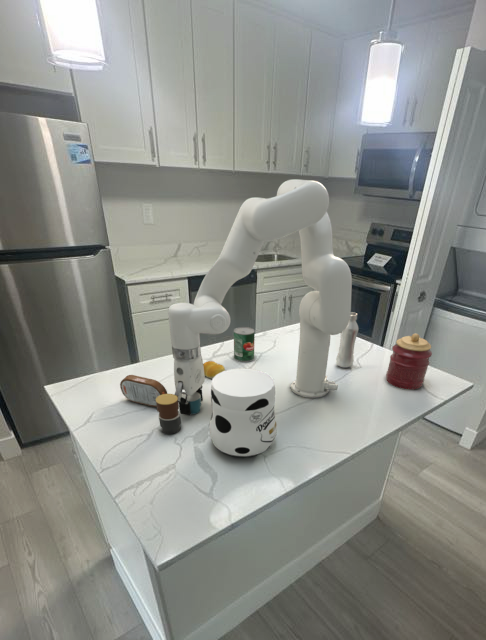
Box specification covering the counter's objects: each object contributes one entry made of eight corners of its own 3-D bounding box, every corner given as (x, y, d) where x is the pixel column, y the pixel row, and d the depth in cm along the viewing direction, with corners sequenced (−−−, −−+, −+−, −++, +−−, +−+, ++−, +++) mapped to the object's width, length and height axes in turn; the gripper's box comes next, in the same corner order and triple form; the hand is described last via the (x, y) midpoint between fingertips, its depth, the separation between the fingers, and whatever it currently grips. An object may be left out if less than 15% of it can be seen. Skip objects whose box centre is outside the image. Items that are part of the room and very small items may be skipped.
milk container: (284, 457, 94) (289, 394, 84) (216, 468, 90) (212, 403, 80) (266, 421, 108) (268, 363, 98) (206, 428, 104) (201, 369, 94)
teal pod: (204, 407, 113) (203, 393, 111) (196, 416, 109) (195, 402, 106) (187, 404, 114) (186, 390, 112) (179, 413, 110) (177, 398, 107)
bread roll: (213, 381, 128) (213, 370, 125) (196, 373, 132) (195, 363, 130) (230, 373, 133) (230, 363, 131) (213, 366, 137) (212, 356, 135)
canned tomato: (236, 353, 149) (236, 326, 143) (255, 354, 148) (256, 327, 142) (231, 361, 142) (231, 333, 136) (252, 363, 141) (252, 334, 135)
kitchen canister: (409, 394, 125) (423, 344, 116) (377, 380, 133) (388, 332, 124) (429, 383, 133) (444, 335, 123) (398, 370, 141) (409, 324, 131)
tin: (169, 405, 113) (166, 380, 108) (164, 410, 111) (160, 385, 106) (127, 396, 117) (122, 371, 112) (121, 400, 114) (116, 375, 110)
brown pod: (183, 411, 102) (181, 395, 99) (173, 421, 97) (171, 405, 95) (164, 407, 103) (162, 392, 100) (154, 417, 98) (151, 402, 96)
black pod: (185, 425, 105) (183, 410, 102) (175, 436, 100) (173, 421, 97) (167, 422, 106) (165, 407, 103) (156, 432, 101) (154, 417, 98)
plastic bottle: (355, 365, 143) (364, 313, 132) (348, 371, 138) (357, 317, 127) (339, 361, 146) (347, 309, 135) (332, 366, 141) (339, 314, 130)
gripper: (184, 365, 93) (190, 424, 103) (212, 342, 107) (214, 395, 117) (157, 361, 95) (165, 419, 105) (188, 338, 109) (192, 391, 119)
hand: (191, 406), depth 111 cm, fingers open, 7 cm apart
